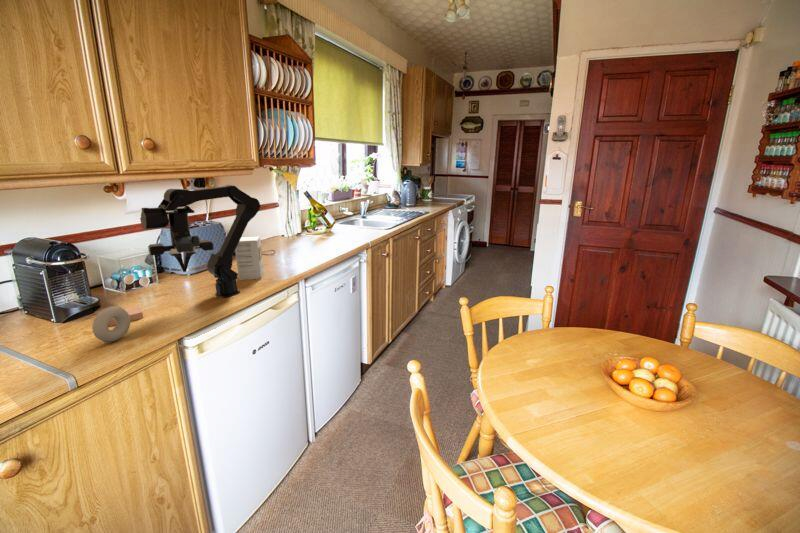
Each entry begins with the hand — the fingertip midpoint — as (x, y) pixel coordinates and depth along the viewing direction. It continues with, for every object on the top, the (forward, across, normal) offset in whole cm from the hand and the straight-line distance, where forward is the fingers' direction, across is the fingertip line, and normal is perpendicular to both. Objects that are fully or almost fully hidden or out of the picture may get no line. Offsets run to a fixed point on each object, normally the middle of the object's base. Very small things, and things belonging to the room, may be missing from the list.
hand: (184, 271), depth 130 cm
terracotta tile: (+12, -14, 0) cm, 18 cm away
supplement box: (+11, +28, +19) cm, 36 cm away
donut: (+14, -21, -17) cm, 31 cm away
